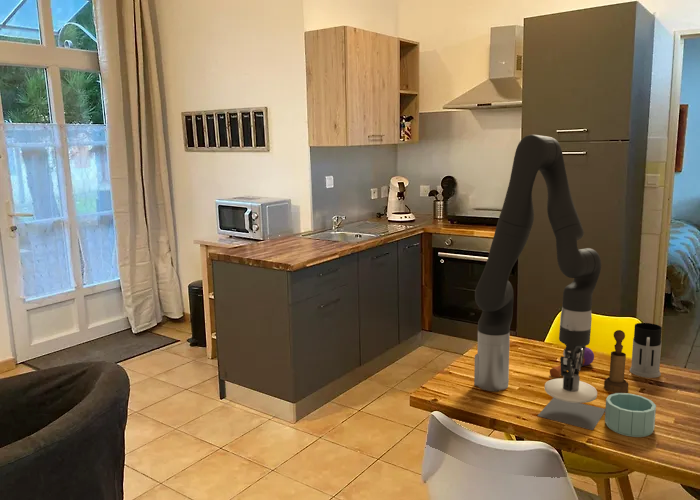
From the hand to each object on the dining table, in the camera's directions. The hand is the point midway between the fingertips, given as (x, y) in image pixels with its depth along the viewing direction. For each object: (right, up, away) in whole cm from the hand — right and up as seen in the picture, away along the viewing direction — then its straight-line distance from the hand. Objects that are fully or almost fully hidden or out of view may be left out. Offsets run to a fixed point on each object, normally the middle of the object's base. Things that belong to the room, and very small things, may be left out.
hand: (570, 386), depth 153 cm
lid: (0, -2, 0) cm, 2 cm away
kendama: (+12, -3, +32) cm, 34 cm away
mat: (+1, -8, +1) cm, 8 cm away
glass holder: (+33, -3, +26) cm, 42 cm away
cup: (+12, -9, -7) cm, 17 cm away
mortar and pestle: (+19, -5, +16) cm, 26 cm away
